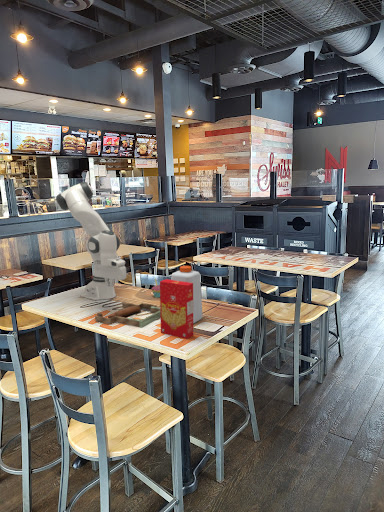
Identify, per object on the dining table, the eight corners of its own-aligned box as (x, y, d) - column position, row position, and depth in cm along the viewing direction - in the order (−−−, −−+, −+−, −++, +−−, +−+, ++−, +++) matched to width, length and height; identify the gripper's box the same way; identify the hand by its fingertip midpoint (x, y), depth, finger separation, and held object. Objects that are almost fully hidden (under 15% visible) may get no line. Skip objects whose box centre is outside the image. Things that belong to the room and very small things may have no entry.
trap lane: (92, 321, 198) (92, 315, 197) (127, 305, 224) (127, 300, 223) (136, 330, 185) (136, 323, 185) (168, 312, 211) (168, 306, 211)
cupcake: (149, 297, 240) (148, 278, 238) (155, 294, 248) (154, 275, 246) (161, 298, 238) (161, 279, 235) (167, 295, 245) (167, 276, 243)
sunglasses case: (130, 309, 217) (134, 300, 214) (138, 317, 214) (142, 308, 211) (105, 317, 203) (108, 308, 200) (112, 326, 200) (116, 317, 197)
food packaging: (160, 332, 182) (159, 281, 177) (167, 329, 186) (166, 279, 182) (187, 339, 174) (186, 285, 170) (193, 335, 179) (193, 283, 174)
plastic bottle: (191, 326, 190) (191, 271, 185) (165, 321, 197) (165, 267, 193) (205, 317, 203) (205, 265, 198) (180, 313, 210) (180, 262, 206)
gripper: (90, 260, 208) (91, 285, 210) (120, 263, 199) (121, 289, 201) (97, 258, 213) (99, 282, 216) (127, 261, 204) (128, 287, 206)
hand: (110, 286), depth 208 cm, fingers closed
